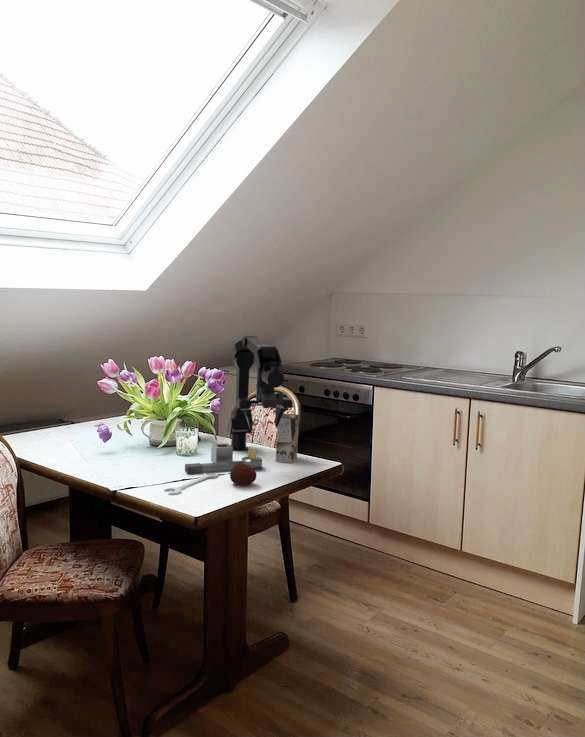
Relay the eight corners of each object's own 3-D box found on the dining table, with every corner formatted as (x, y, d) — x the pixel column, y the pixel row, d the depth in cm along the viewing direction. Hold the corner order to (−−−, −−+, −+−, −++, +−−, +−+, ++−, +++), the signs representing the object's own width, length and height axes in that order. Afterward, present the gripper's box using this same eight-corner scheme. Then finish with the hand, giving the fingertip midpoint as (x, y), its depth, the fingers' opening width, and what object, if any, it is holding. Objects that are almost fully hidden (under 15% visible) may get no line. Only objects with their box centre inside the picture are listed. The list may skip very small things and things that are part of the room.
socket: (211, 460, 232) (211, 444, 231) (227, 459, 234) (227, 443, 233) (215, 465, 226) (216, 448, 225) (232, 463, 229) (233, 447, 228)
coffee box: (292, 463, 233) (294, 419, 231) (275, 461, 234) (276, 417, 232) (297, 457, 242) (299, 414, 240) (280, 455, 243) (282, 412, 241)
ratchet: (183, 469, 219) (184, 449, 218) (257, 464, 230) (258, 444, 229) (188, 475, 213) (189, 454, 212) (264, 469, 223) (265, 449, 222)
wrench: (160, 495, 195) (174, 498, 193) (160, 490, 195) (174, 493, 192) (208, 474, 217) (221, 476, 214) (208, 469, 217) (221, 472, 214)
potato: (253, 489, 202) (254, 467, 201) (227, 486, 203) (227, 465, 202) (258, 482, 209) (259, 461, 208) (233, 480, 210) (233, 459, 210)
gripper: (244, 387, 211) (242, 434, 213) (298, 386, 217) (296, 432, 219) (236, 381, 221) (234, 426, 223) (288, 381, 227) (286, 424, 229)
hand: (263, 427), depth 223 cm, fingers open, 9 cm apart
